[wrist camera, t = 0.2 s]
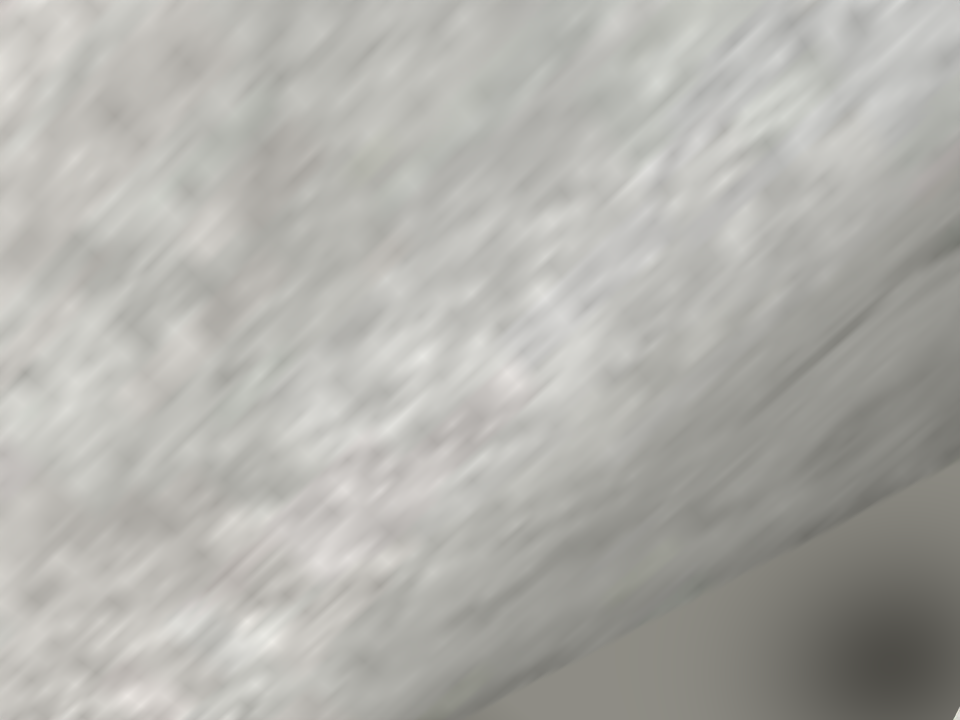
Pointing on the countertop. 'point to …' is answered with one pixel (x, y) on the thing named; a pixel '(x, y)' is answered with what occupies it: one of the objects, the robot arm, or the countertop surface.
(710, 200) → the countertop surface
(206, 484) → the countertop surface
